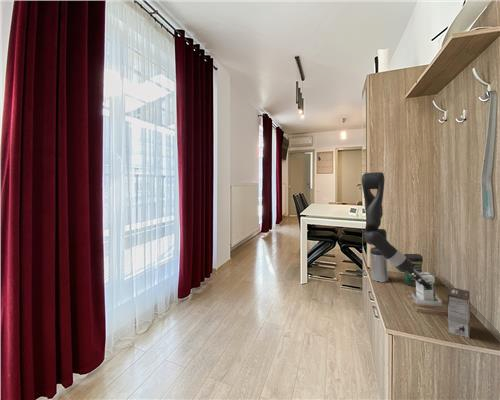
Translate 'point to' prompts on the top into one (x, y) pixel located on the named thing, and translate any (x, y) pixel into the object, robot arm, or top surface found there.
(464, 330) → the coffee box
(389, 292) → the top surface
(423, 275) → the syrup box
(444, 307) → the carrier board
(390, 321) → the top surface
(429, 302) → the socket collar
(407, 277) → the coffee jar
